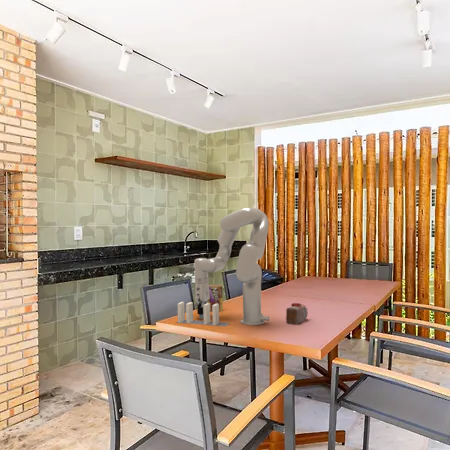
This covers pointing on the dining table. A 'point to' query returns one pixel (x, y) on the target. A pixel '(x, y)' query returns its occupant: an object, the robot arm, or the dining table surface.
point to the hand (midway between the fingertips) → (202, 312)
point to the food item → (296, 313)
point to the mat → (207, 324)
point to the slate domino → (203, 313)
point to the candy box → (216, 296)
